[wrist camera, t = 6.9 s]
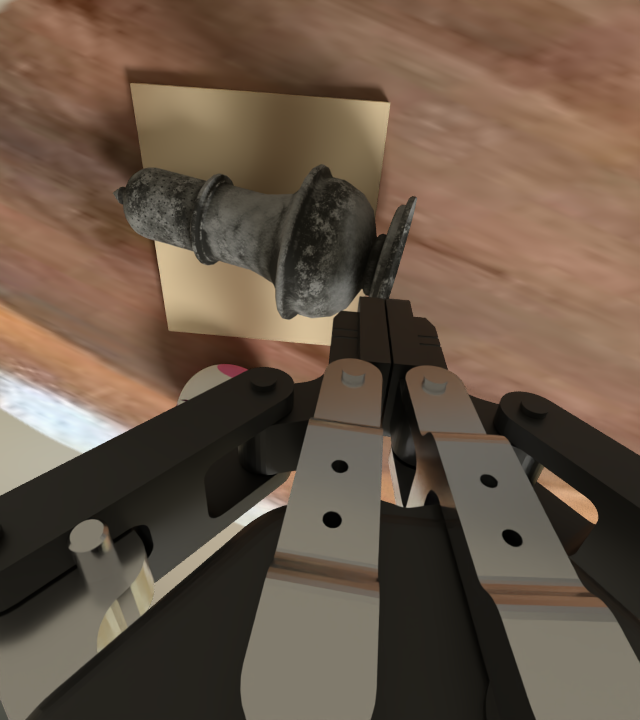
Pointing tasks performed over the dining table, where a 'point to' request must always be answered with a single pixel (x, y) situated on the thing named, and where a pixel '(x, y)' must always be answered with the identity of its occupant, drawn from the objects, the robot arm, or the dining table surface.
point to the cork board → (251, 187)
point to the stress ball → (208, 380)
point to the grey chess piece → (276, 234)
